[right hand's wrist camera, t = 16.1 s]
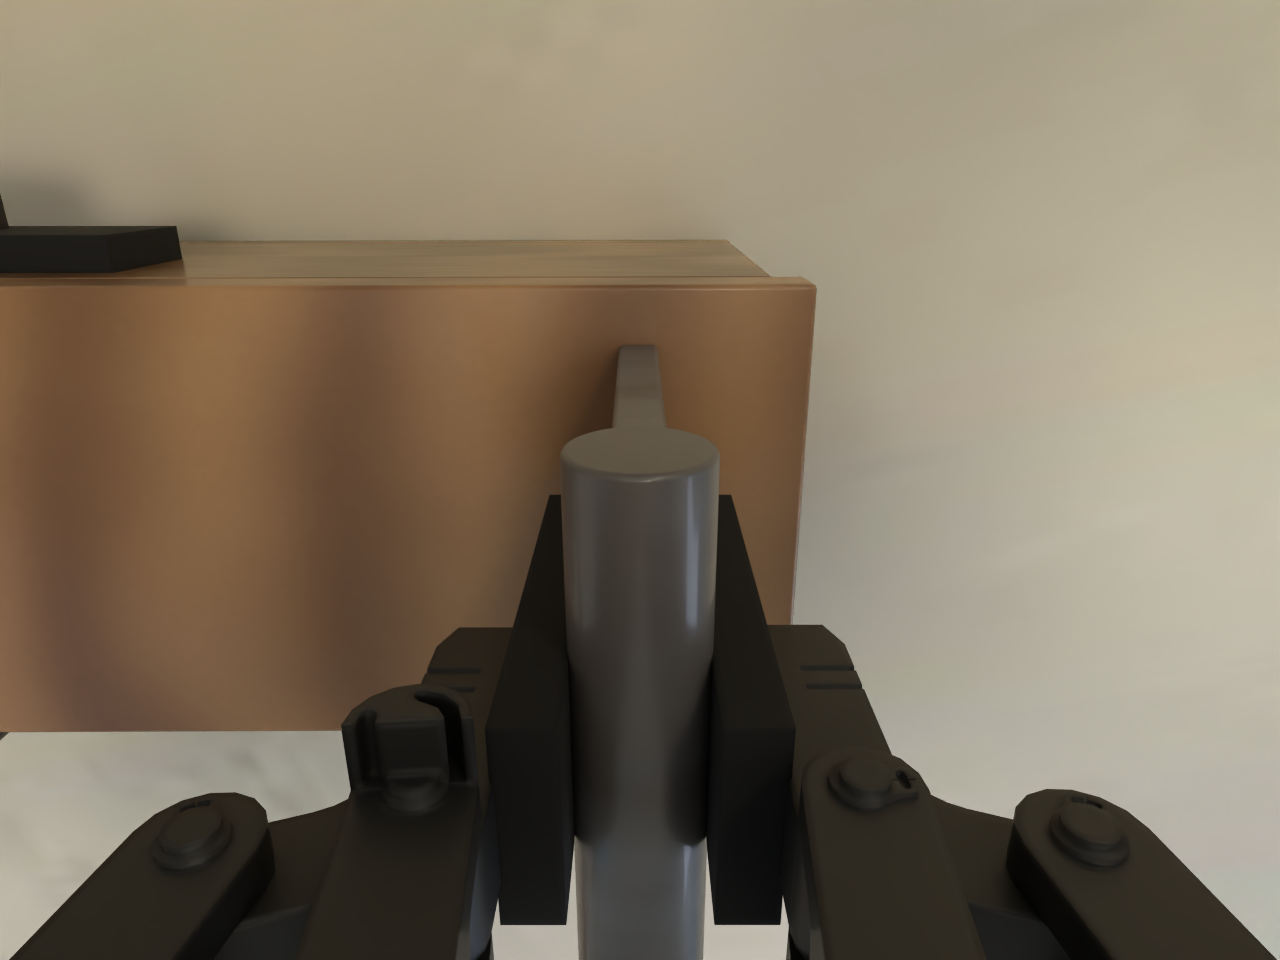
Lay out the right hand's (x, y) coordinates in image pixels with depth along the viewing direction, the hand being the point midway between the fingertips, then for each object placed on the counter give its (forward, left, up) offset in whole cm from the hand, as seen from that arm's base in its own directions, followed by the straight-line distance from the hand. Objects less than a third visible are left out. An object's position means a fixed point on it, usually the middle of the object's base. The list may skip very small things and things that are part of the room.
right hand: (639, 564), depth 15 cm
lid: (+3, -4, -3) cm, 6 cm away
